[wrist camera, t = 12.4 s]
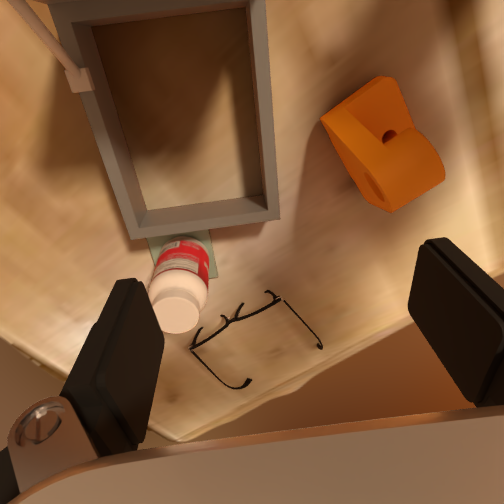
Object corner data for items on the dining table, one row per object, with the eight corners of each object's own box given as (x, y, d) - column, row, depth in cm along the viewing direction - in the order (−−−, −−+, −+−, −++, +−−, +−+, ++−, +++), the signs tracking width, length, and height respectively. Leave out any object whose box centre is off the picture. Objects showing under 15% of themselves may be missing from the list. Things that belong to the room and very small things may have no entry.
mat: (146, 233, 39) (145, 235, 39) (207, 225, 39) (207, 226, 39) (161, 283, 43) (161, 285, 43) (217, 275, 43) (217, 277, 43)
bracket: (416, 158, 37) (492, 197, 27) (360, 194, 39) (410, 244, 29) (380, 70, 32) (455, 78, 22) (317, 116, 34) (359, 143, 24)
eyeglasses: (278, 277, 45) (283, 295, 41) (327, 340, 52) (335, 360, 49) (184, 330, 48) (181, 351, 45) (243, 383, 56) (245, 404, 52)
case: (64, -4, 27) (-94, -62, 13) (256, -28, 27) (293, -109, 14) (138, 221, 38) (92, 314, 24) (274, 202, 38) (304, 284, 25)
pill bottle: (201, 281, 43) (196, 344, 33) (154, 268, 41) (135, 332, 32) (216, 242, 40) (215, 300, 31) (167, 227, 38) (150, 284, 29)
